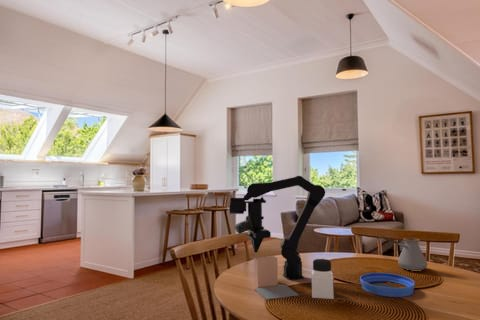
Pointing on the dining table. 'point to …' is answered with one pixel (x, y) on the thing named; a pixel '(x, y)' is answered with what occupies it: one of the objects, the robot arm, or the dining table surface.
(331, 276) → the medicine bottle
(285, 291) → the mat
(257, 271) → the terracotta block
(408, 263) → the coffee pot
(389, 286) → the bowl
